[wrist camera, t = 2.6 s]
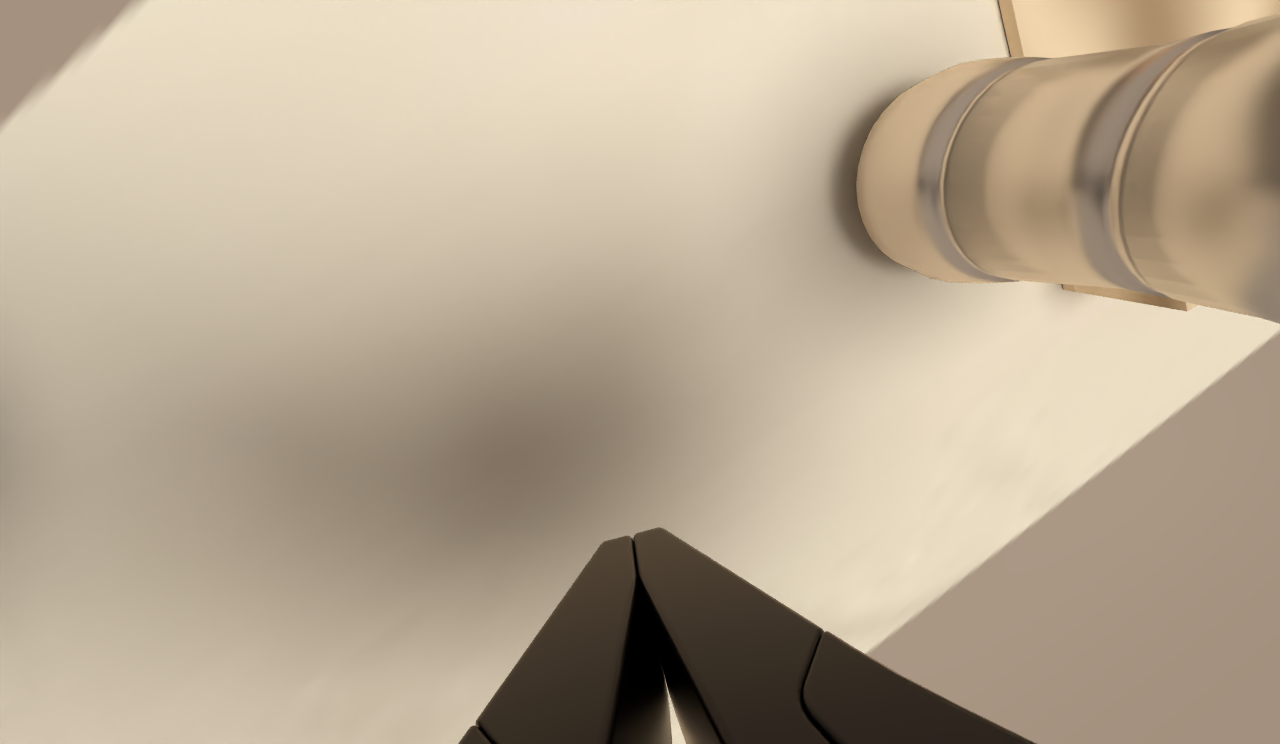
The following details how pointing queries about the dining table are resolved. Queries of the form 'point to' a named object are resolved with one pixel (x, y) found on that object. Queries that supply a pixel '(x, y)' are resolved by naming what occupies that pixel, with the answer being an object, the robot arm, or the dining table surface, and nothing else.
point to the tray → (1118, 48)
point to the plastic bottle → (1091, 171)
